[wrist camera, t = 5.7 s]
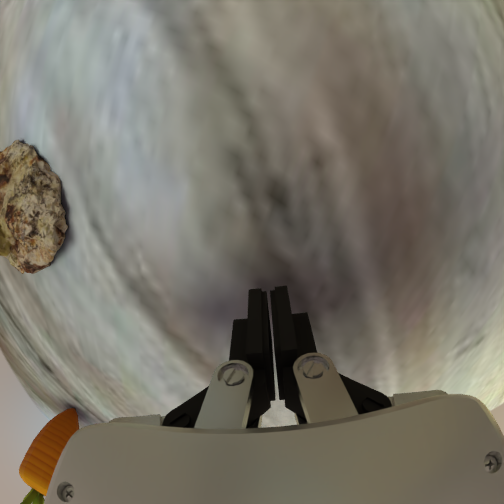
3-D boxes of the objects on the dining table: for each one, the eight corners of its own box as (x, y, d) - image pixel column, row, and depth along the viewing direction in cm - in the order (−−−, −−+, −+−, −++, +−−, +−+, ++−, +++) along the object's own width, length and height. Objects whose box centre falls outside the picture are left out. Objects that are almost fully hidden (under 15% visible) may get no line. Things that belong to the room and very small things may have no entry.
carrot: (55, 387, 19) (1, 502, 5) (98, 413, 20) (55, 535, 6) (54, 403, 21) (10, 503, 7) (91, 426, 22) (55, 531, 8)
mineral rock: (49, 129, 8) (35, 310, 9) (96, 146, 13) (82, 286, 14) (-43, 144, 8) (-51, 264, 9) (-3, 150, 12) (-12, 254, 13)
